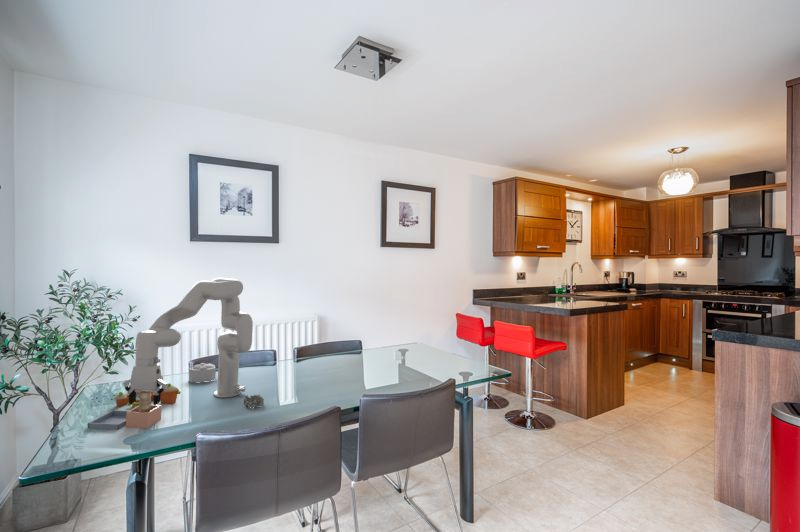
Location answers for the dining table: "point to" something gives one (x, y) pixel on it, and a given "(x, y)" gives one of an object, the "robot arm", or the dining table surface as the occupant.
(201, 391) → the dining table surface
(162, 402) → the toy tea set
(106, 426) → the tray
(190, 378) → the lumpy-topped squat cylinder
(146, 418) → the salmon pink open bin
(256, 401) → the dark mottled rough lump
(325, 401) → the dining table surface
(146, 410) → the dowel
